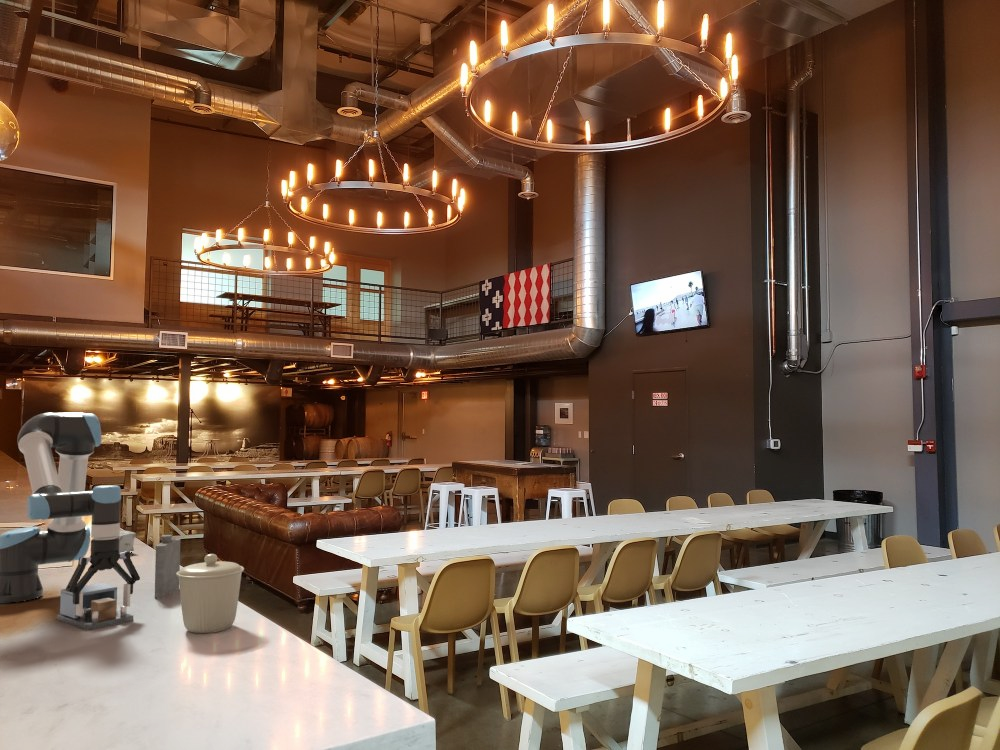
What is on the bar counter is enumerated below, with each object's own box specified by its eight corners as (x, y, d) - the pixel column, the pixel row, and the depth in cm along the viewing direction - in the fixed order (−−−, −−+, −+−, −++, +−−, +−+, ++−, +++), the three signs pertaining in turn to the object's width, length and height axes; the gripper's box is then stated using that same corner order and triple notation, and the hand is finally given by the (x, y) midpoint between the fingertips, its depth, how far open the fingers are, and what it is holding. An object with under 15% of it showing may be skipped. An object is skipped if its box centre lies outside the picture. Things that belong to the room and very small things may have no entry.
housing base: (57, 619, 219) (57, 604, 219) (102, 610, 229) (102, 596, 230) (87, 630, 207) (87, 614, 207) (133, 620, 217) (133, 605, 218)
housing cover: (60, 613, 219) (60, 589, 220) (101, 605, 229) (102, 582, 229) (74, 618, 213) (75, 594, 214) (116, 610, 223) (117, 586, 223)
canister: (177, 641, 196) (179, 562, 197) (172, 625, 212) (174, 552, 213) (247, 632, 204) (248, 556, 205) (238, 617, 220) (239, 546, 221)
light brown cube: (98, 620, 212) (98, 603, 212) (90, 618, 215) (91, 600, 215) (115, 617, 216) (116, 599, 216) (108, 614, 219) (108, 597, 219)
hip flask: (162, 598, 245) (164, 538, 247) (150, 598, 245) (151, 538, 246) (180, 588, 261) (181, 531, 262) (169, 588, 261) (170, 531, 262)
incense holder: (119, 557, 325) (120, 533, 326) (104, 556, 327) (105, 533, 328) (136, 553, 334) (137, 530, 335) (121, 552, 337) (122, 530, 337)
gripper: (140, 531, 229) (139, 600, 228) (54, 542, 209) (51, 617, 208) (152, 533, 224) (151, 603, 223) (65, 544, 205) (63, 621, 203)
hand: (103, 610), depth 215 cm, fingers open, 13 cm apart
